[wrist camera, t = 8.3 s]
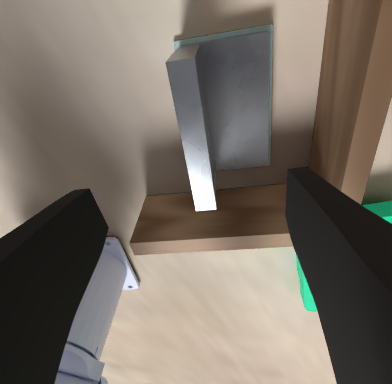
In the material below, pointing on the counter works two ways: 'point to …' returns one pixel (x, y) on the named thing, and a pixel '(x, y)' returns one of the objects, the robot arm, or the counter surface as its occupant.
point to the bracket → (221, 107)
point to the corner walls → (320, 152)
